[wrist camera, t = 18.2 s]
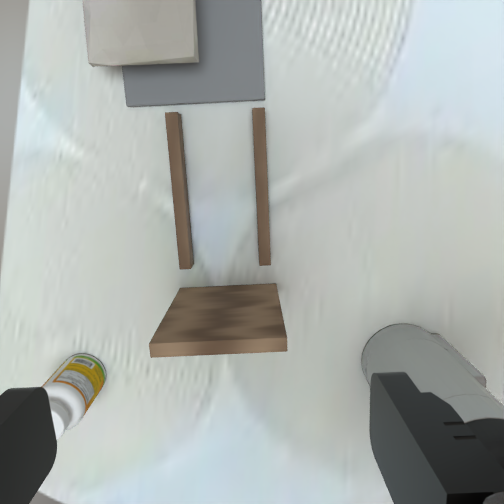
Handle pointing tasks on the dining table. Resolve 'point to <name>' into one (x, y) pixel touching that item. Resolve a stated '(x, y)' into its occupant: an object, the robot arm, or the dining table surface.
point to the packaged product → (140, 32)
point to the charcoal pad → (208, 61)
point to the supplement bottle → (73, 390)
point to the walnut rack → (219, 297)
